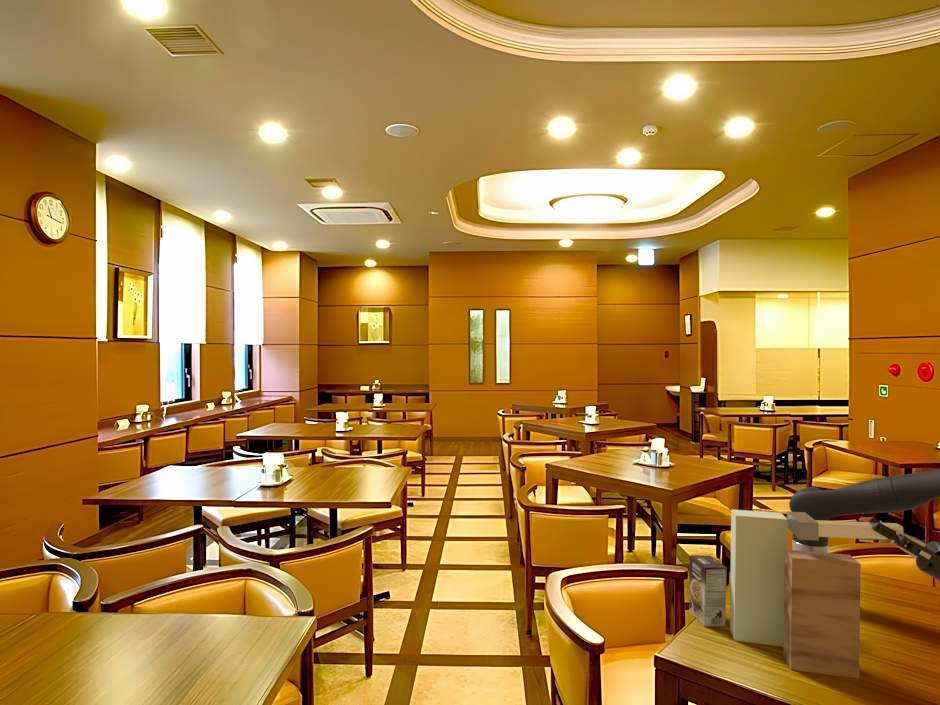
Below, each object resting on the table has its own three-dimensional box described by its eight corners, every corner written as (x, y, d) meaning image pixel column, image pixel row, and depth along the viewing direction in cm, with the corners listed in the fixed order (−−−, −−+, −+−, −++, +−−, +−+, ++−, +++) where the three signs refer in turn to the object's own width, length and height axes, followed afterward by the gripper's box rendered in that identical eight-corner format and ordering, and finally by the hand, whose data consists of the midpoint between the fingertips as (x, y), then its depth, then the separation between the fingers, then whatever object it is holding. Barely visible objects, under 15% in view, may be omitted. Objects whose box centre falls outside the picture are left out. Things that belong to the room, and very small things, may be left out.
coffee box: (687, 611, 161) (688, 554, 161) (709, 611, 162) (710, 554, 162) (703, 627, 152) (704, 567, 152) (726, 626, 153) (727, 566, 153)
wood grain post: (783, 656, 138) (784, 549, 138) (848, 664, 134) (849, 555, 134) (790, 669, 132) (792, 557, 132) (859, 678, 129) (860, 564, 129)
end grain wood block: (787, 528, 139) (787, 511, 139) (890, 532, 134) (890, 515, 134) (799, 539, 130) (798, 522, 130) (910, 544, 125) (909, 526, 125)
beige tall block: (729, 629, 151) (731, 509, 151) (779, 635, 148) (781, 513, 148) (734, 640, 145) (735, 515, 145) (786, 647, 142) (787, 519, 142)
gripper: (940, 542, 133) (868, 502, 137) (978, 564, 120) (896, 518, 123) (922, 569, 134) (850, 528, 138) (957, 593, 121) (876, 547, 124)
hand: (872, 523), depth 131 cm, fingers closed on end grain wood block, 3 cm apart
